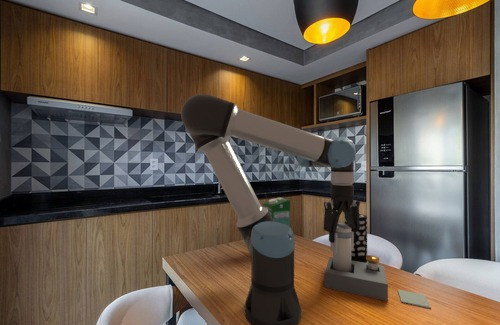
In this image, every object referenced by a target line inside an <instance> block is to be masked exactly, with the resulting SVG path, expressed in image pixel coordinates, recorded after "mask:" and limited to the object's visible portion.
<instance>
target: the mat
mask: <svg viewBox="0 0 500 325" xmlns="http://www.w3.org/2000/svg"><path fill="white" fill-rule="evenodd" d="M397 292H398V295H399V299H400V303H402V302H403V303H402V304H406V303H408V304H407V305H411V304H412V306H416V307H420V306H421V308H425V307H426V309H430V310H431V308H432V307H431V305H430V302H429V301H428V299H427V297H426V295H425V294H424V293H423V294H422V293H417V292H413V291H408V290H402V289H397Z"/></svg>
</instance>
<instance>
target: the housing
mask: <svg viewBox="0 0 500 325" xmlns="http://www.w3.org/2000/svg"><path fill="white" fill-rule="evenodd" d="M324 288H326V289H332V290H336V291H340V292H345V293H349V294H354V295H358V296H363V297H367V298H372V299H377V300H381V301H386V302H388V301H389V284H388V279H387V276H386V270H385V266H384V265H382V264H378V272H377V271H371V270H368V262H367V263H364V262H358V261H351V273H350V272H344V271H339V270H333V256H329V258H328V261H327V264H326V266H325V270H324Z"/></svg>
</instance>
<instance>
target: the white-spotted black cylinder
mask: <svg viewBox="0 0 500 325" xmlns="http://www.w3.org/2000/svg"><path fill="white" fill-rule="evenodd" d="M359 219H360V229H357V230H358V231H357V232H355V240H354V251H351V261H358V262H364V263H368V261H367V260H366V256H367V255H368V216H367V215H366V214H361V213H359ZM344 225H347V222H346V218H345V217H344Z"/></svg>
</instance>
